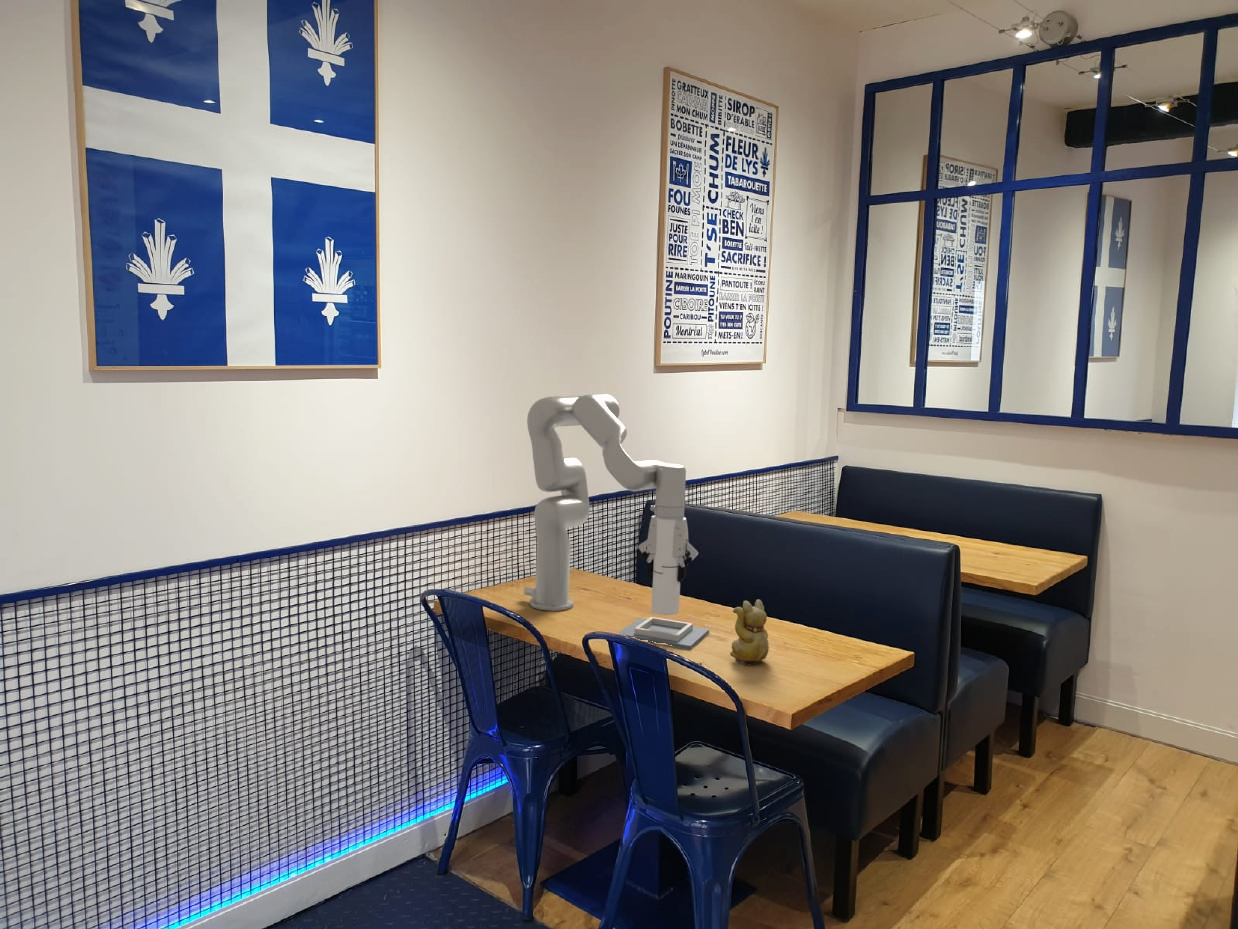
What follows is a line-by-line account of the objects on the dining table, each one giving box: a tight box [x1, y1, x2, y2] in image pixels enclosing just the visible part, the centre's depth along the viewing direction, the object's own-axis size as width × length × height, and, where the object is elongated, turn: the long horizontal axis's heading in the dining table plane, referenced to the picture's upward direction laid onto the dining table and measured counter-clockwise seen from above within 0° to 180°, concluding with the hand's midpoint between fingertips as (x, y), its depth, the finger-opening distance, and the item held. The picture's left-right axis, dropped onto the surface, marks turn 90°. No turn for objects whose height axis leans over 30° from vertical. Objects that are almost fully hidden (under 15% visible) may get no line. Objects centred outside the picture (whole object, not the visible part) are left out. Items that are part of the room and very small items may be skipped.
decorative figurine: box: [729, 599, 770, 666], centre depth 228 cm, size 10×8×15 cm
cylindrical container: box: [651, 518, 681, 616], centre depth 245 cm, size 7×7×25 cm
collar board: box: [618, 616, 710, 651], centre depth 247 cm, size 20×16×2 cm
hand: (666, 578), depth 245 cm, fingers closed on cylindrical container, 7 cm apart
